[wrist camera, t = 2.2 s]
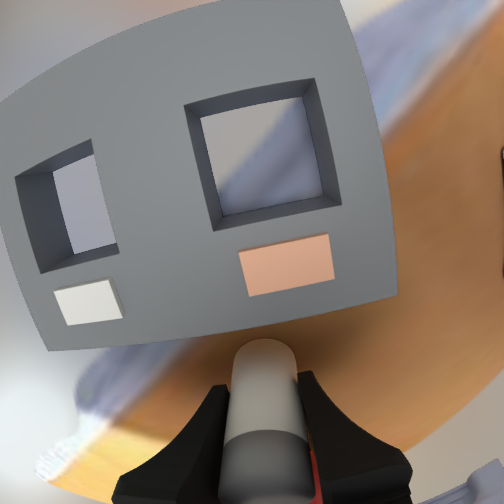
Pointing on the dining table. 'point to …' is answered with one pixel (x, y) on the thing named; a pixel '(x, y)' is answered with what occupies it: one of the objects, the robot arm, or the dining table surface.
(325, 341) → the dining table surface
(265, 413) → the plug
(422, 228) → the dining table surface
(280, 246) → the socket panel
